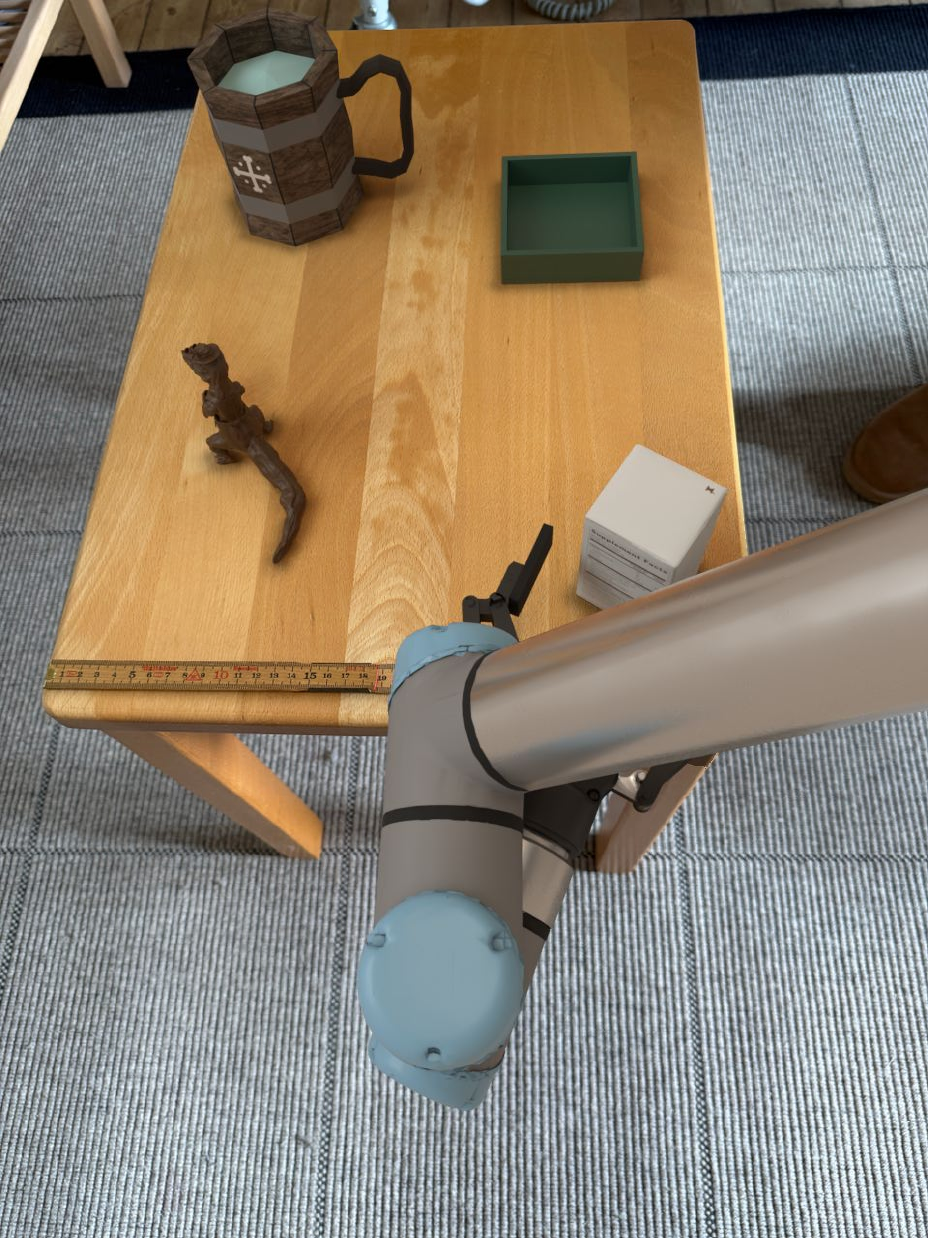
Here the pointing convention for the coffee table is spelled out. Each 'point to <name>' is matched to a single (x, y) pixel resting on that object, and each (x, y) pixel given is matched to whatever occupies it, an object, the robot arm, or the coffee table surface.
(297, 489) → the brown dinosaur figurine
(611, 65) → the coffee table surface
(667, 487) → the white packaging box
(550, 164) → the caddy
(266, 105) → the mug
